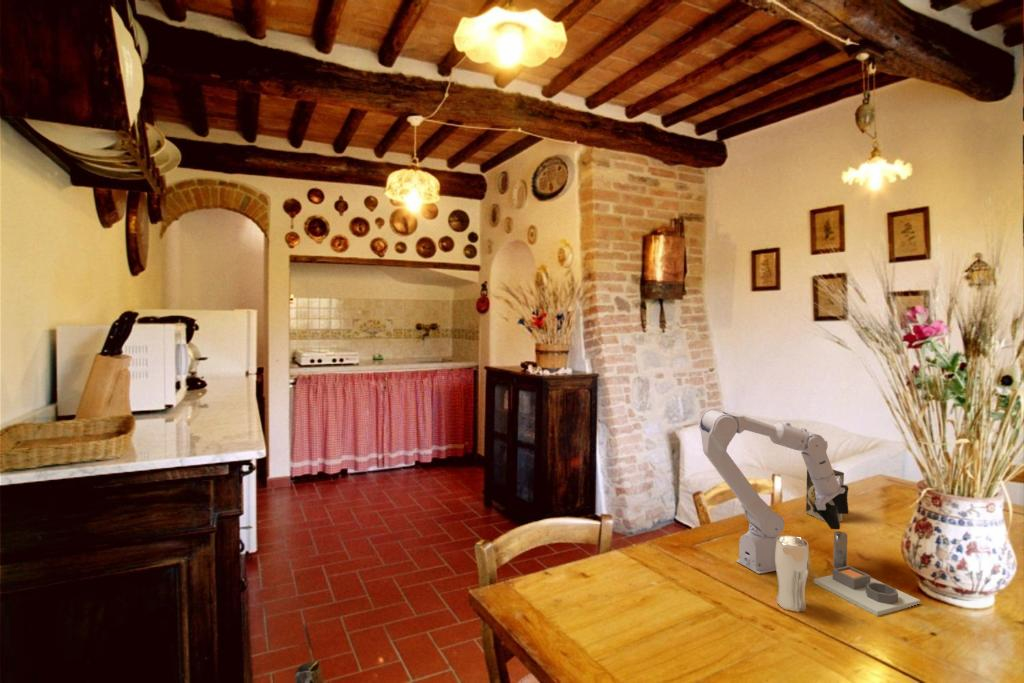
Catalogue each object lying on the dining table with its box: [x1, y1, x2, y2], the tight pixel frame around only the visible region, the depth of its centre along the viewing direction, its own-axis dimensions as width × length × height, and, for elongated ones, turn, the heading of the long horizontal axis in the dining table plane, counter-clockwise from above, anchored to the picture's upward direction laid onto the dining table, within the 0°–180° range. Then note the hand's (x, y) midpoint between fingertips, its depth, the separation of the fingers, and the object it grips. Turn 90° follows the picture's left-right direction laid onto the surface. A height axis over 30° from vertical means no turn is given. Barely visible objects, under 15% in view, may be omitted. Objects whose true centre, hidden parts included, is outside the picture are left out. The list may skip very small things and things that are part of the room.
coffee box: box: [805, 468, 845, 523], centre depth 177 cm, size 9×6×16 cm
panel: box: [813, 565, 921, 617], centre depth 128 cm, size 14×16×4 cm
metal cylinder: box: [832, 530, 848, 569], centre depth 141 cm, size 3×3×9 cm
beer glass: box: [775, 534, 810, 612], centre depth 122 cm, size 7×7×15 cm
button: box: [840, 569, 863, 578], centre depth 131 cm, size 4×4×1 cm
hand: (839, 520), depth 143 cm, fingers open, 7 cm apart
